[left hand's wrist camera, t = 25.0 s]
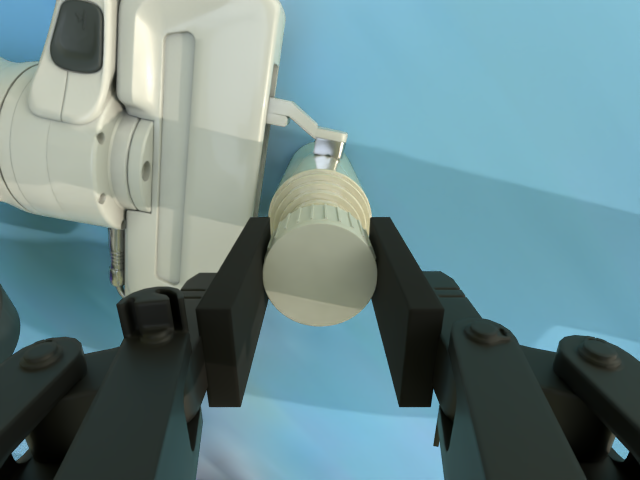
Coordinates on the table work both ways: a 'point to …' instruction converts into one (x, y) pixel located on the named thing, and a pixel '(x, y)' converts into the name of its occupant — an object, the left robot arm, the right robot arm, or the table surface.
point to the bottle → (319, 187)
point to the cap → (319, 266)
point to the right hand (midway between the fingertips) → (333, 196)
